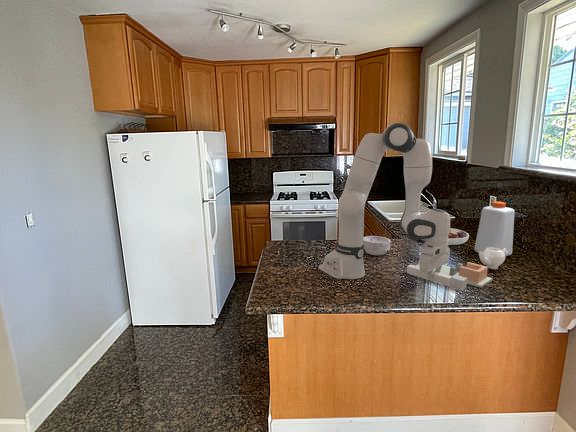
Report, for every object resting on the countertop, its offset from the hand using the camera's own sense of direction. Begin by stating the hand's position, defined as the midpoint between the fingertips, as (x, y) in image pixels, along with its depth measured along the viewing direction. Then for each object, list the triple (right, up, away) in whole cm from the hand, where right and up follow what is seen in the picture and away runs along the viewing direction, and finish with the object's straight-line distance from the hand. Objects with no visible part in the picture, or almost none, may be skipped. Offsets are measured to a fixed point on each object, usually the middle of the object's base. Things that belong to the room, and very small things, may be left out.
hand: (433, 276), depth 149 cm
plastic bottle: (+48, +6, +36) cm, 60 cm away
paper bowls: (-16, +6, +37) cm, 41 cm away
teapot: (+34, +1, +15) cm, 38 cm away
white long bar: (0, -2, 0) cm, 2 cm away
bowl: (+31, +12, +63) cm, 71 cm away
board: (+11, 0, +7) cm, 13 cm away
